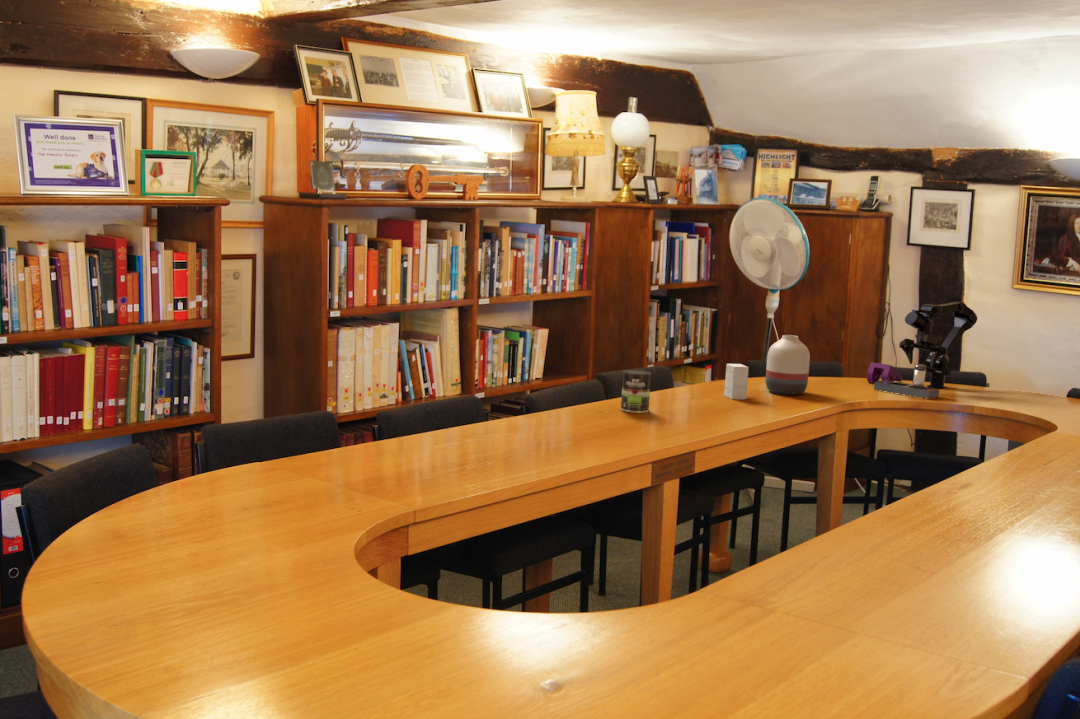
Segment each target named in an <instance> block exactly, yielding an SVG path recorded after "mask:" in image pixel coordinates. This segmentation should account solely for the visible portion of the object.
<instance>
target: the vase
mask: <svg viewBox="0 0 1080 719" xmlns="http://www.w3.org/2000/svg"><path fill="white" fill-rule="evenodd" d="M781 336H782V337H781V338H780V339H778V340H777V341H776V342H774V343H773V344H771V346H770V347H769V349H768V352H767V355H766V356H767V357H766V369H765V370H766V371H765V387H766V389H767V390H768V391H769V392H771V393H773V394H776V395H782V396H798V395H802V394H804V393H805V392H806V390H807V387H808V382H809V375H810V361H811V354H810V351H809V350H810V349H808V347H807V346H806V345H805V344H804V343H803V342H802V341H801V340H800V339H799V336H798V335H792V334H782V335H781Z"/></svg>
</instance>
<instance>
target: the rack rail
mask: <svg viewBox="0 0 1080 719" xmlns="http://www.w3.org/2000/svg"><path fill="white" fill-rule="evenodd" d="M912 387H913V383H912V384H911V383H905V382H894V381H888V380H883V381H882V380H879V381H877V382H874V385H873V390H874V389H875V390H874V391H876V390H881V391H880V392H882V391H887V392H886V393H888V392H893V393H899V394H905V395H911V396H916V397H922V398H927V399H929V400H931V399H930V398H933V399H935V398H934V397H938V398H940V389H939V388H934V387H928V386H924V389H916V388H912ZM893 393H892V394H893ZM899 394H898V395H899ZM905 395H904V396H905ZM916 397H915V398H916ZM927 399H926V400H927Z"/></svg>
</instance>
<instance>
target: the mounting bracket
mask: <svg viewBox="0 0 1080 719" xmlns="http://www.w3.org/2000/svg"><path fill="white" fill-rule="evenodd" d="M880 378H881V381H883V380H888V381H900V383H902V380H903V375H902V374H901V373H900V372H899V371H897V369H896V368H895V367H894V366H892V365H891V364H887V363H879V362H878V363H877V362H874V361H873V362H870V363H869V366H868V369H867V372H866V381H867V383H868V384H872V383H873V384H874V382H877V381H880Z"/></svg>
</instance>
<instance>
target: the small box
mask: <svg viewBox="0 0 1080 719" xmlns="http://www.w3.org/2000/svg"><path fill="white" fill-rule="evenodd" d="M725 366H726V368H725V378H724V379H725V380H724V381H725V382H724V392H723V396H725V397H727V398H729V399H730V400H747V396H748V395H747V393H748V392H747V391H748V380H749V379H748V378H749V366H746V365H744V364H742V363H726V365H725Z"/></svg>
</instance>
